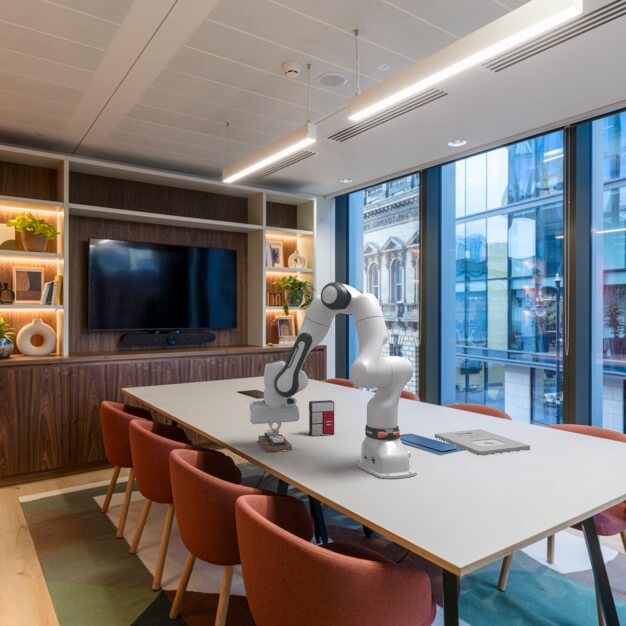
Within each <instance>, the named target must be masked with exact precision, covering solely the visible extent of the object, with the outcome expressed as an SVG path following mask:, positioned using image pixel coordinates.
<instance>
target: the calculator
mask: <svg viewBox="0 0 626 626" xmlns="http://www.w3.org/2000/svg"><path fill="white" fill-rule="evenodd" d="M308 415H309V416H308V417H309V418H308V419H309V421H308V425H309V426H308V433H309V436H311V435H321V436H323V435H322V434H334V435H335V401H334V400H331V399H329V400H310V401H309V402H308Z"/></svg>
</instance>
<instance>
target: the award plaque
mask: <svg viewBox="0 0 626 626" xmlns="http://www.w3.org/2000/svg"><path fill="white" fill-rule="evenodd" d="M435 437H436V438H435ZM434 438H435V439H437V438H439V439H438V440H440V439H441V440H440V441H442V440H443V441H442V442H445V441H446V442H445V443H447V442H448V444H450V445H452V444H453V446H454V445H456V446H455V447H457V446H458V447H457V448H459V447H461V448H460V449H462V448H464V449H466V450H465V451H467V450H468V451H467V452H469V451H470V452H469V453H472V454H474V453H475V455H476V454H477V456H479V455H483V456H489V455H488V454H491V455H496V454H495V453H500V454H504V453H503V452H508V453H512V452H511V451H516V452H521V451H520V450H525V451H530V450H531V445H529V444H527V443H523V442H521V441H517V440H515V439H512V438H509V437H505V436H503V435H500V434H496V433H493V432H491V431H487V430H484V429H481V428H479V429H469V430H460V431H459V430H458V431H449V432H440V433H434ZM464 449H463V450H464Z"/></svg>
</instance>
